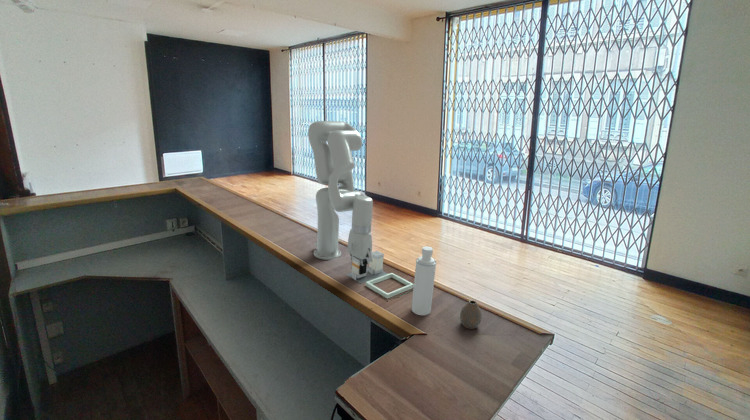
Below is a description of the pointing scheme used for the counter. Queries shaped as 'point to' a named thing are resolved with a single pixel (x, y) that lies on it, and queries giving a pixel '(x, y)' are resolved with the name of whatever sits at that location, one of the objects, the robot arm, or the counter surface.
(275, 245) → the counter surface
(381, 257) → the block
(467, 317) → the vase
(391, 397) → the counter surface
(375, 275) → the block
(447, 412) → the counter surface
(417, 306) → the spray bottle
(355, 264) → the block
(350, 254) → the robot arm
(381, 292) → the tray
